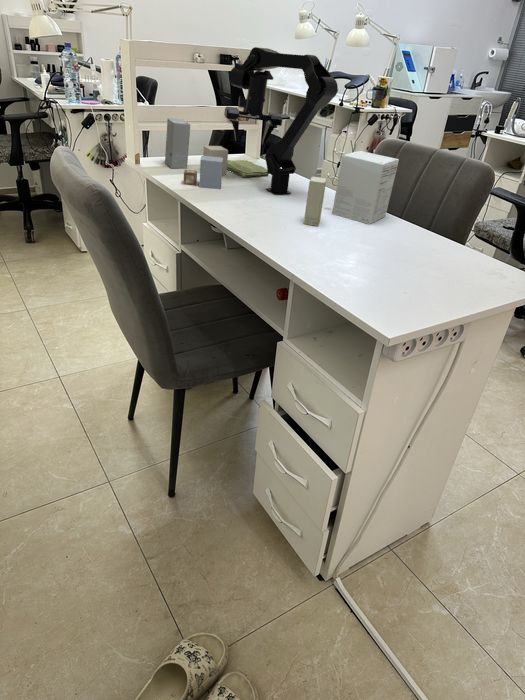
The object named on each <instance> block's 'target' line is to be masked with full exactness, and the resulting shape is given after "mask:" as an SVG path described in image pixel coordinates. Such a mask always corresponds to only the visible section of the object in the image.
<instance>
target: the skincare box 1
mask: <svg viewBox="0 0 525 700" xmlns="http://www.w3.org/2000/svg"><path fill="white" fill-rule="evenodd" d="M190 134H191V124H190V123H189V121H187V120H185V119H182V118H173V117H167V123H166V137H165V139H166V140H165V152H164V153H165V155H164V162H165V164H166V165H167V166H168V167H169V168H171V169H179V170H180V169H182V170H188V159H189V147H190V138H191V137H190V136H191V135H190Z"/></svg>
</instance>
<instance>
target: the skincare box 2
mask: <svg viewBox="0 0 525 700" xmlns="http://www.w3.org/2000/svg"><path fill="white" fill-rule="evenodd" d="M308 183H309V184H308V190H307V197H306V204H305V212H304V218H303V219H304V220H303V224H305V225H308V224H310V225H309V226H314V225H315V226H316V227H318V226H319V224H320V223H321V222H320V221H321V216H322V210H323V205H324V198H325V197H324V196H325V192H326V184H327V178H325V177H318V176H311V177H310V179H309V182H308Z"/></svg>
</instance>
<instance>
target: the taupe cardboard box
mask: <svg viewBox="0 0 525 700" xmlns="http://www.w3.org/2000/svg"><path fill="white" fill-rule="evenodd" d="M202 156H211V157H220V158H223V164H222V176H227V175H228V174H227V173H228V171H227V161H228V160H229V158H228V157H229V150H228V149H227V148H225V147H223V146H222V145H203V153H202Z"/></svg>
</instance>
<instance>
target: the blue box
mask: <svg viewBox="0 0 525 700" xmlns="http://www.w3.org/2000/svg"><path fill="white" fill-rule="evenodd" d="M199 164H200V165H199V188H203V189H205V188H206V189H217V190H221V189H222V181H223V179H222V178H223V175H222V164H223V158H220V157H211V156H203V155H201V157H200V163H199Z"/></svg>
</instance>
